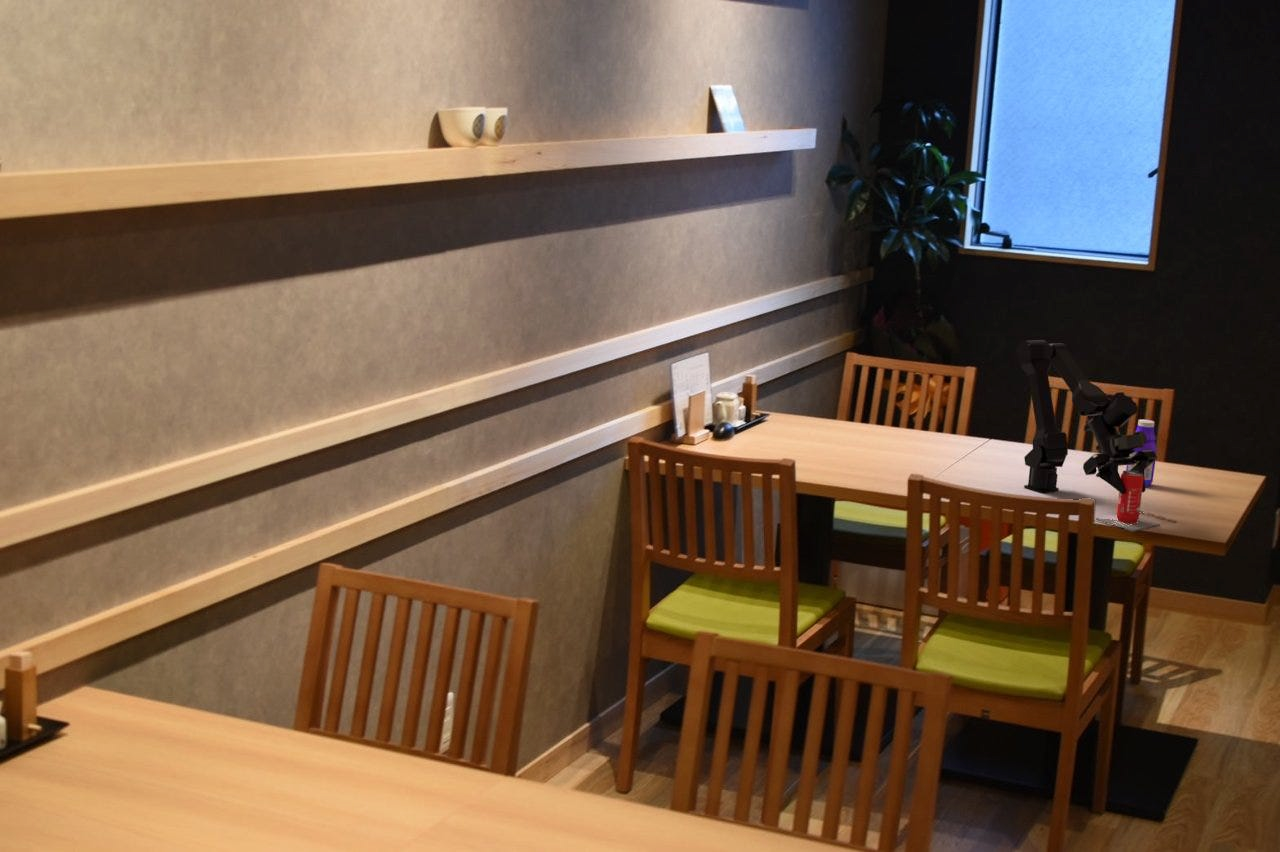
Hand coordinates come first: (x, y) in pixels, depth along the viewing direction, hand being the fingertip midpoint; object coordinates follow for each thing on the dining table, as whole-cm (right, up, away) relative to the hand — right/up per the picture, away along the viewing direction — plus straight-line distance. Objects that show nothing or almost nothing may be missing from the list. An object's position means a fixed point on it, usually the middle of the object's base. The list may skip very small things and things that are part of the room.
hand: (1134, 492), depth 366 cm
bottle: (+14, 0, +40) cm, 43 cm away
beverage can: (-1, -7, +3) cm, 8 cm away
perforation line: (+7, -6, +10) cm, 14 cm away
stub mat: (-1, -7, +3) cm, 8 cm away
